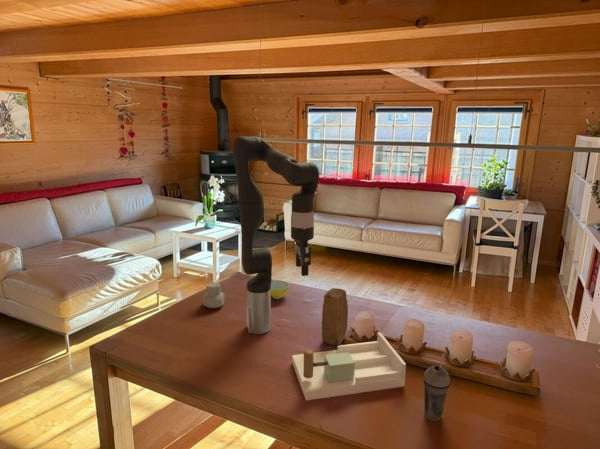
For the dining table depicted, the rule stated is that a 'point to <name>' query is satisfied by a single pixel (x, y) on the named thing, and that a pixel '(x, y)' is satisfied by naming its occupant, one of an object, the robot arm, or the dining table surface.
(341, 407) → the dining table surface
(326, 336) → the brown tall faceted piece
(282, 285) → the bowl
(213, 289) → the air freshener
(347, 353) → the pull block
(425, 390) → the beverage cup
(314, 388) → the shelf
